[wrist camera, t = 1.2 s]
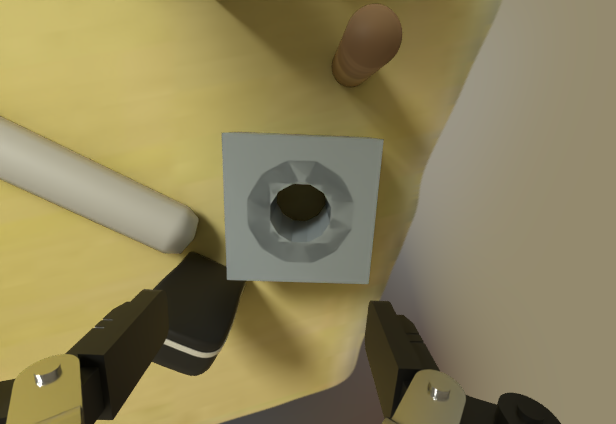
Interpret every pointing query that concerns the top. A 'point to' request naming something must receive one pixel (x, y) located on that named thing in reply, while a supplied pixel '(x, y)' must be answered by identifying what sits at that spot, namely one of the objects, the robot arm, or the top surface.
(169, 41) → the top surface
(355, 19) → the walnut dowel
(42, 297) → the top surface
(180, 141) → the top surface
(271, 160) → the bore block
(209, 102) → the top surface
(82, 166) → the tube
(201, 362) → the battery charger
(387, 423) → the robot arm
